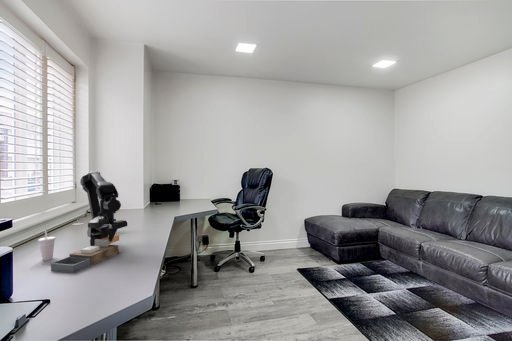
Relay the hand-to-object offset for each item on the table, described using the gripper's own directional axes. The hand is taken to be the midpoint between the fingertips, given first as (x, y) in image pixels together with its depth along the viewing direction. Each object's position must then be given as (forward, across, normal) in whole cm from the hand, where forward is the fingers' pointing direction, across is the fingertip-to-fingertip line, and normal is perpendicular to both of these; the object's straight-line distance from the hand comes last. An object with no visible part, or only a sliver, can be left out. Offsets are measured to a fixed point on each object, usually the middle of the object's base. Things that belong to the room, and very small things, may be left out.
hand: (108, 241), depth 127 cm
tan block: (+6, 0, -8) cm, 9 cm away
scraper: (+1, 0, 0) cm, 1 cm away
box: (+6, 0, -19) cm, 20 cm away
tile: (+2, 0, -10) cm, 10 cm away
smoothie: (+6, -22, -13) cm, 26 cm away
